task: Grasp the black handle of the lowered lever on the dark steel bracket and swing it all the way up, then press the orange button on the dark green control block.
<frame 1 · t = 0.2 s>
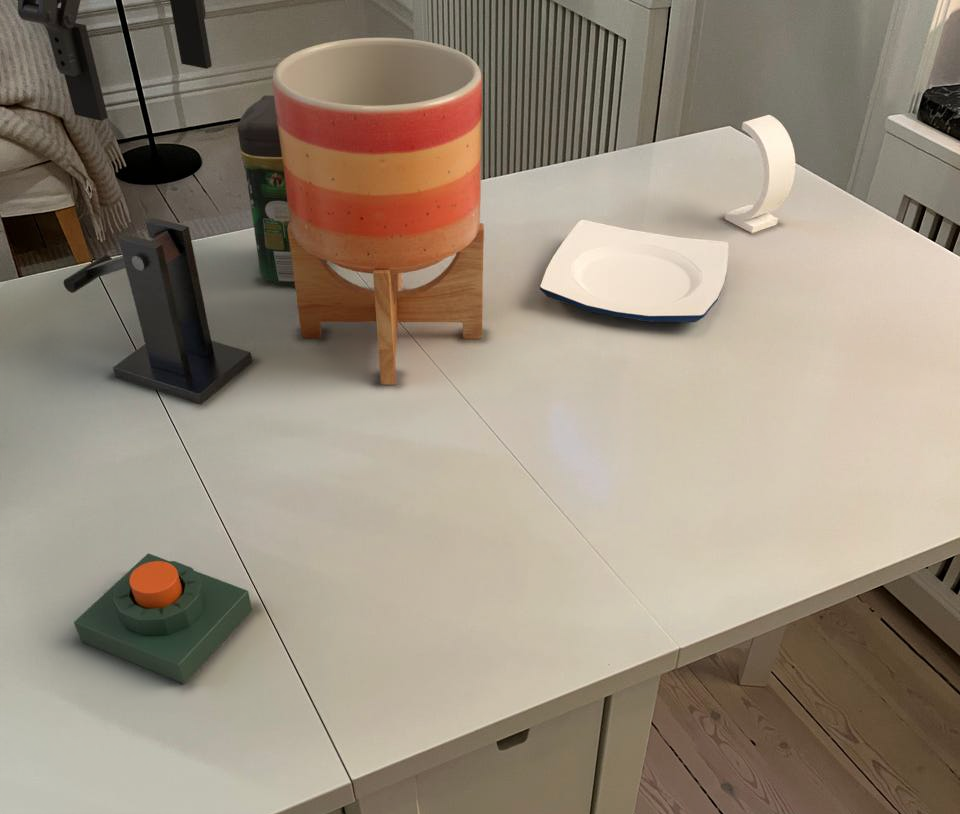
hand: (146, 90, 85), 28 cm above the table, tool pointing down, fingers open, 13 cm apart
lever: (124, 261, 100), point 11 cm above the table, hinge at -25.0°
control block: (168, 625, 81), on the table
coffee jar: (294, 270, 123), on the table
bracket: (184, 369, 107), on the table
button: (155, 584, 78), point 4 cm above the table, slide at 0.1 cm
headphone stand: (753, 224, 133), on the table
plate: (634, 287, 121), on the table
planter: (392, 337, 112), on the table
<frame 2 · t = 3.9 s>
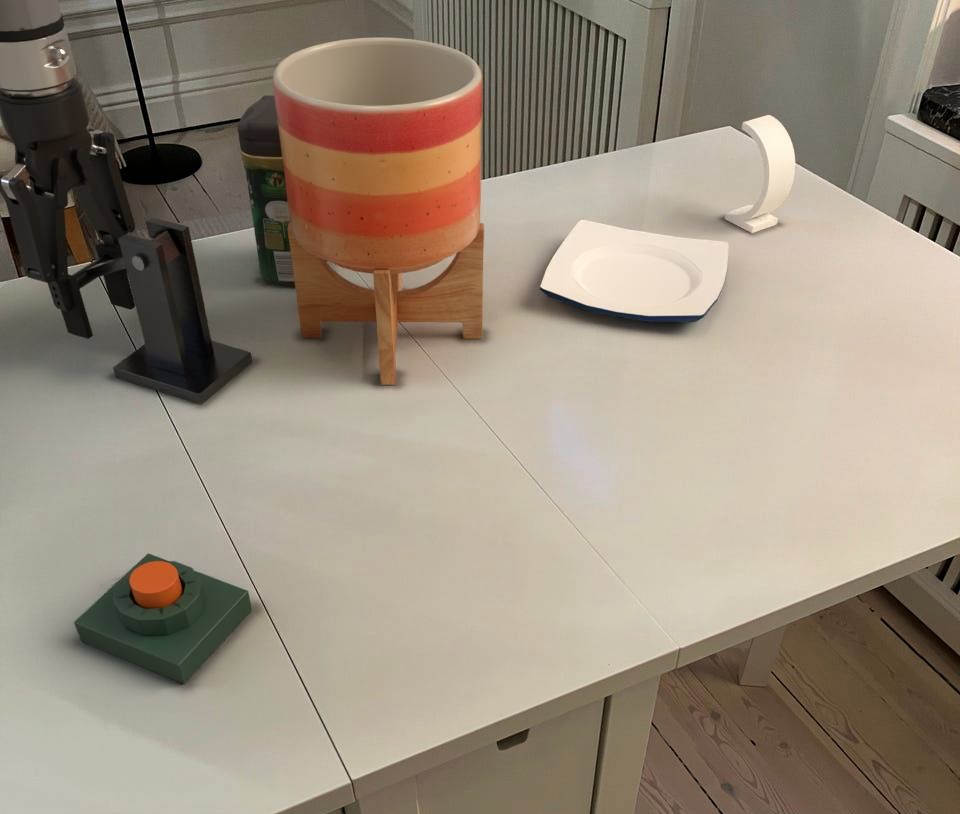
hand: (102, 319, 108), 3 cm above the table, tool pointing down, fingers closed on lever, 6 cm apart
lever: (124, 261, 100), point 11 cm above the table, hinge at -25.0°, touching gripper
everything else where it was.
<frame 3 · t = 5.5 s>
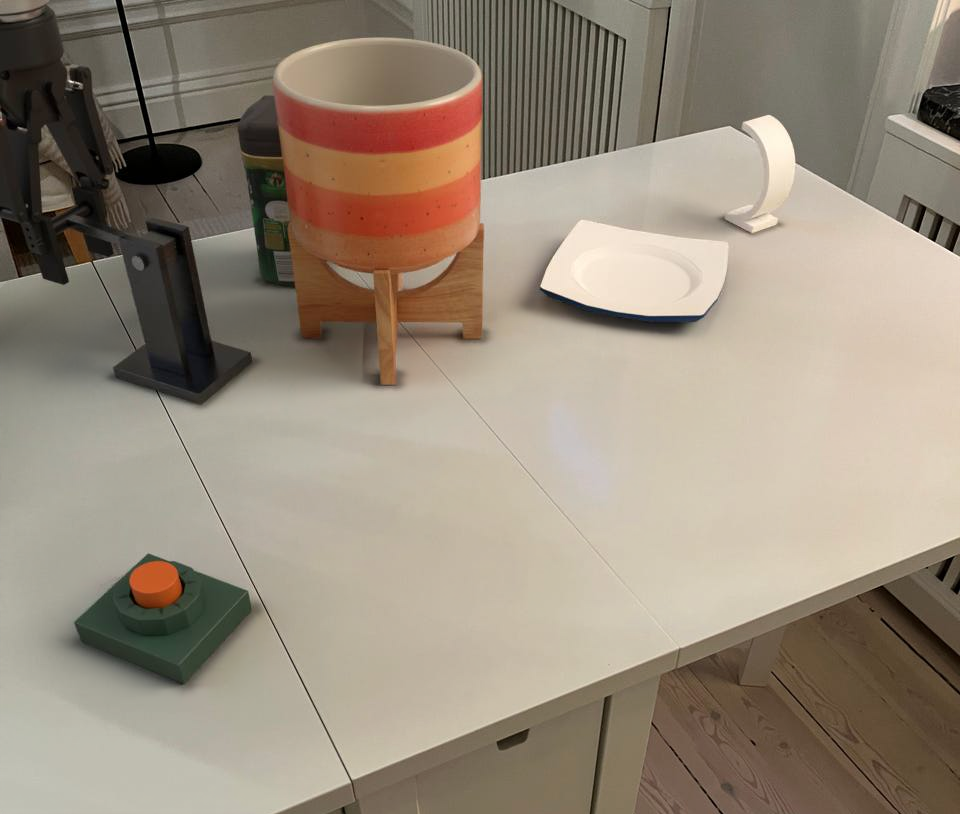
hand: (79, 265, 104), 9 cm above the table, tool pointing down, fingers closed on lever, 6 cm apart
lever: (114, 235, 99), point 13 cm above the table, hinge at 3.7°, touching gripper
everything else where it was.
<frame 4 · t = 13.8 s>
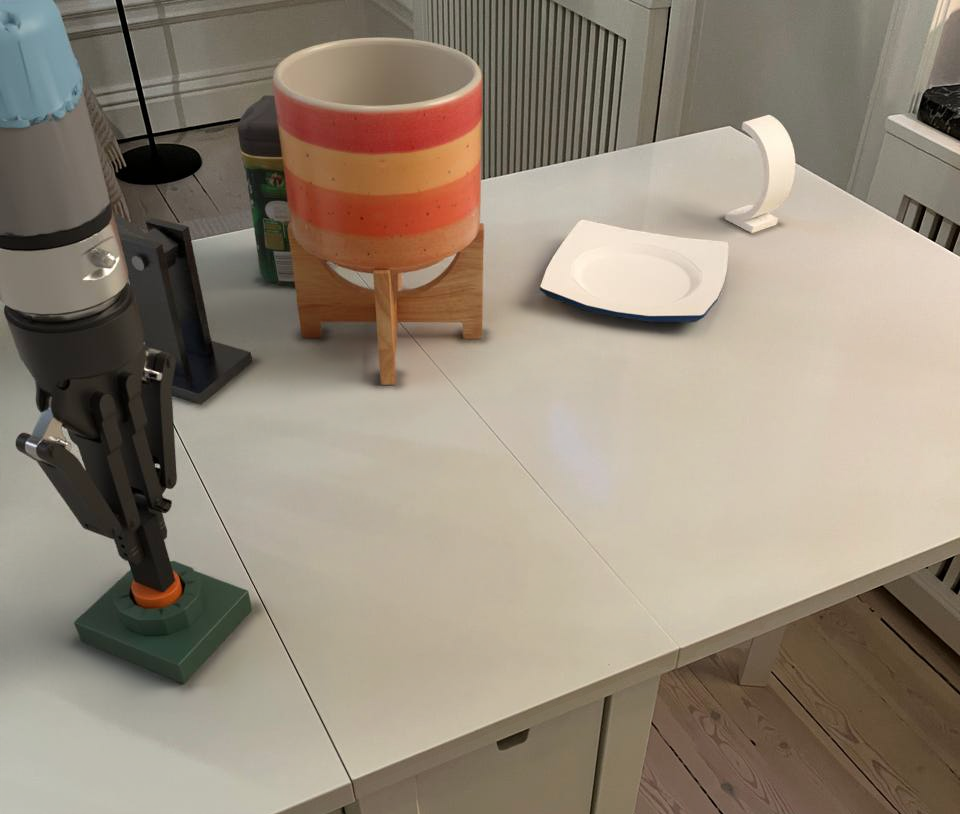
hand: (155, 581, 78), 5 cm above the table, tool pointing down, fingers closed
lever: (113, 220, 97), point 15 cm above the table, hinge at 22.1°
button: (157, 591, 78), point 4 cm above the table, slide at -0.6 cm, touching gripper
everything else where it was.
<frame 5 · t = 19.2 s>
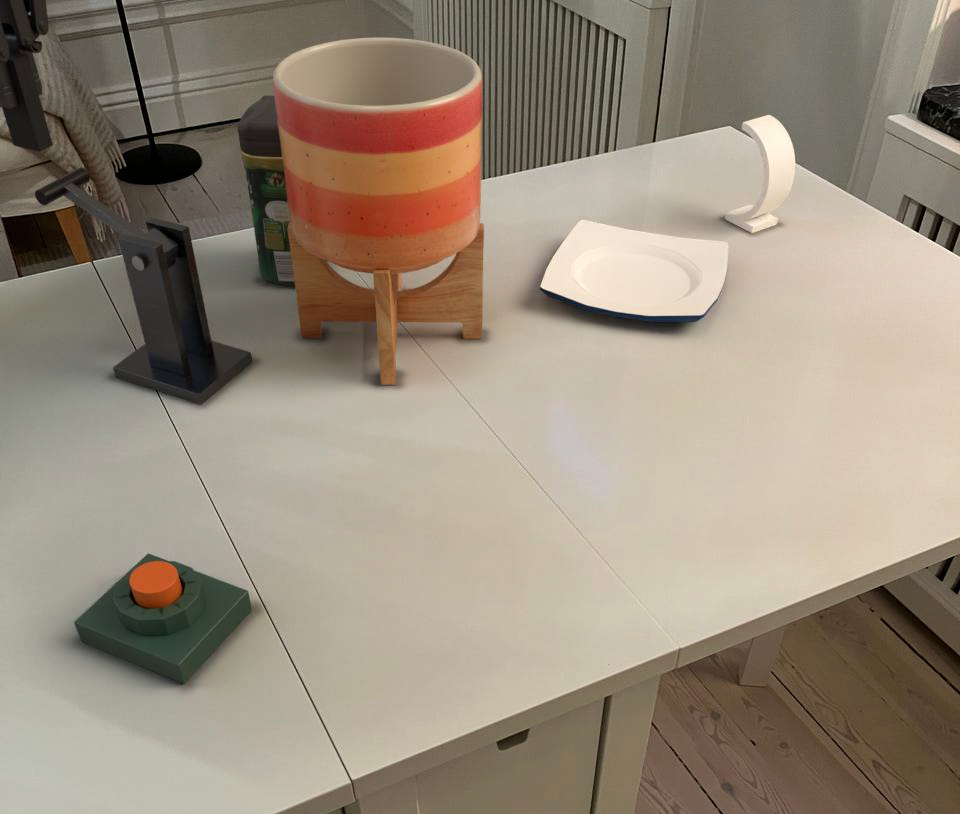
hand: (33, 145, 81), 26 cm above the table, tool pointing down, fingers closed
button: (155, 584, 78), point 4 cm above the table, slide at 0.1 cm
everything else where it was.
at the end: lever at +22° (first picture: -25°); button pushed in 1.0 cm at the most during the clip, back to where it started at the end; button slide at 0.1 cm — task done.
